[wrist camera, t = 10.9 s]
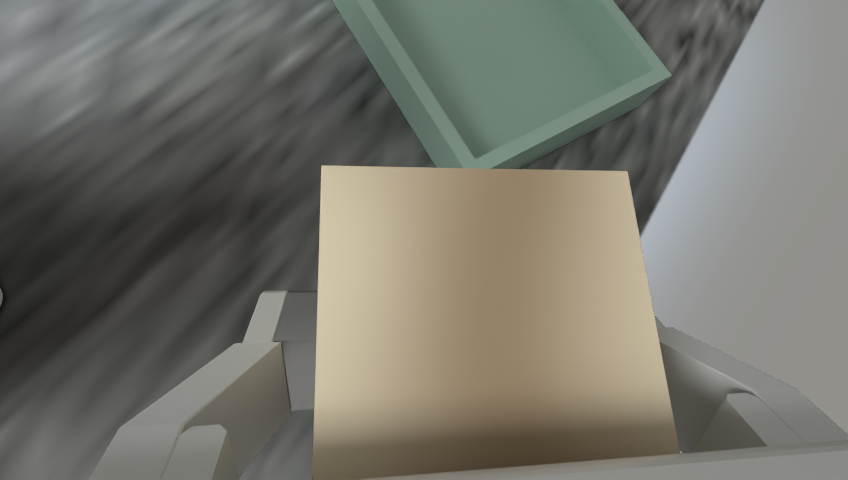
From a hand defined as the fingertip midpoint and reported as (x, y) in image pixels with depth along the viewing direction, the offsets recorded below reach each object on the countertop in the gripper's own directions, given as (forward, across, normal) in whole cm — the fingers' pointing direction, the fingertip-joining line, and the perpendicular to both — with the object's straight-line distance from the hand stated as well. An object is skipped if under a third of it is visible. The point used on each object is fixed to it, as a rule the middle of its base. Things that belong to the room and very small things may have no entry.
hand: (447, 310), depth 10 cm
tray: (+30, -7, -4) cm, 31 cm away
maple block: (+3, 0, +4) cm, 4 cm away
